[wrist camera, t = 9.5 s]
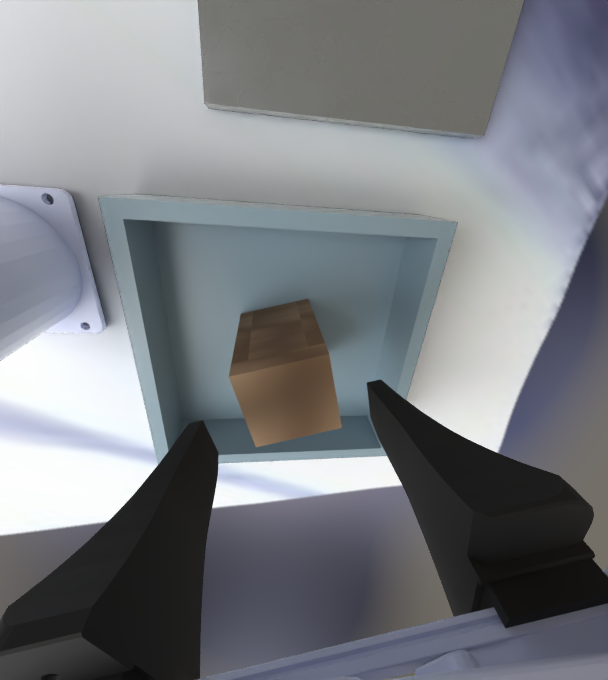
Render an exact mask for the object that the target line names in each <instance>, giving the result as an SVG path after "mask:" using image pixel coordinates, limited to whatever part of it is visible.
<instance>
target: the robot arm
mask: <svg viewBox="0 0 608 680" xmlns="http://www.w3.org/2000/svg"><path fill="white" fill-rule="evenodd" d="M47 194H50V195H51V196H52V198H53V199H54V202H53V204H51V203H50V202H49V201H48V200H47ZM84 322H86V323H88V324H89V325H90V327H87V326H85V324H84ZM105 328H106V323H105V319H104V315H103V311H102V308H101V304H100V300H99V296H98V292H97V288H96V285H95V281H94V277H93V273H92V269H91V265H90V262H89V258H88V254H87V250H86V246H85V242H84V238H83V235H82V231H81V227H80V223H79V219H78V215H77V212H76V208H75V204H74V200H73V198H72V196H71V195H70V194H69V193H68V192H67V191H65V190H63V189H59V188H45V187H32V186H18V185H4V184H0V361H1V360H2V359H4V358H5V357H7V356H8V355H10V354H11V353H13V352H14V351H16V350H17V349H19V348H21V347H22V346H24V345H25V344H27V343H28V342H30V341H31V340H33V339H34V338H36V337H37V336H39V335H40V334H42V333H100V332H102V331H103V330H104V329H105ZM367 391H368V400H369V409H370V418H371V420H372V423H373V426H374V428H375V431H376V434H377V436H378V439H379V441H380V443H381V445H382V447H383V449H384V450H385V452H386V454H387V456H388V458H389V460H390V462H391V464H392V466H393V468H394V470H395V472H396V474H397V475H398V477H399V479H400V481H401V483H402V485H403V487H404V489H405V491H406V494H407V496H408V498H409V500H410V503H411V505H412V508H413V510H414V513H415V515H416V518H417V520H418V523H419V525H420V528H421V530H422V533H423V535H424V538H425V540H426V543H427V545H428V548H429V551H430V553H431V556H432V559H433V561H434V564H435V567H436V569H437V572H438V574H439V577H440V580H441V583H442V585H443V588H444V591H445V594H446V596H447V599H448V602H449V605H450V607H451V610H452V612H453V616H454V617H451V618H448V619H443V620H439V621H435V622H431V623H426V624H422V625H418V626H414V627H410V628H406V629H402V630H398V631H394V632H390V633H386V634H382V635H378V636H374V637H369V638H365V639H361V640H357V641H353V642H349V643H345V644H340V645H336V646H332V647H329V648H324V649H320V650H316V651H312V652H307V653H304V654H299V655H295V656H291V657H287V658H283V659H279V660H275V661H271V662H266V663H262V664H258V665H254V666H250V667H246V668H242V669H238V670H234V671H230V672H225V673H221V674H217V675H213V676H209V677H205V678H201V679H200V632H201V607H202V588H203V573H204V561H205V548H206V539H207V533H208V526H209V520H210V516H211V510H212V505H213V499H214V494H215V488H216V482H217V476H218V456H219V452H218V450H217V448H216V446H215V444H214V442H213V440H212V438H211V436H210V434H209V432H208V430H207V428H206V426H205V424H204V421H203V420H202V421H197V422H193V423H189V424H188V425H187V427H186V428H185V429H184V431H183V432H182V433H181V435H180V436H179V437H178V439H177V440H176V442H175V443H174V444H173V446H172V447H171V449H170V450H169V451H168V453H167V454H166V455H165V457H164V458H163V459H162V461H161V462H160V463H159V465H158V466H157V467H156V468H155V470H154V471H153V472H152V473H151V475H150V476H149V477H148V478H147V479H146V481H145V482H144V483H143V484H142V486H141V487H140V488H139V489H138V490H137V492H136V493H135V494H134V495H133V496H132V497H131V498H130V499H129V501H128V502H127V503H126V504H125V505H124V506H123V507H122V508H121V509H120V510H119V511H118V512H117V513H116V514H115V515H114V516H113V517H112V518H111V519H110V520H109V521H108V522H107V523H106V524H105V525H104V526H103V527H102V528H101V529H100V530H99V531H98V532H97V533H96V534H95V535H94V536H93V537H92V538H91V539H90V540H89V541H88V542H87V543H86V544H84V545H83V546H82V547H81V548H80V549H79V550H78V551H76V552H75V553H74V554H73V555H72V556H71V557H70V558H68V559H67V560H66V561H65V562H64V563H63V564H61V565H60V566H59V567H58V568H57V569H56V570H54V571H53V572H52V573H51V574H50V575H48V576H47V577H46V578H44V579H43V580H42V581H41V582H40V583H38V584H37V585H36V586H34V587H33V588H32V589H30V590H29V591H28V592H27V593H25V594H24V595H23V596H21V598H19V599H18V600H16V601H15V602H14V603H12V604H11V605H10V606H8V608H7V609H6V611H5V613H4V615H3V616H2V618H1V619H0V680H384V679H388V678H392V677H396V676H400V675H404V674H408V673H412V672H415V676H411V677H403V678H395V679H388V680H608V568H606V569H605V570H604V571H602V570H601V569H600V567H599V566H598V565H597V564H596V563H595V562H594V560H593V559H592V558H594V557H595V555H594V552H593V551H592V550H591V549H590V548H589V546H588V545H586V543H585V542H584V541H583V539H584V537H585V535H586V533H587V531H588V530H589V528H590V526H591V524H592V521H593V517H594V512H593V508H592V506H591V505H589V503H587V502H586V501H585V500H584V499H583V498H582V497H581V496H580V495H579V493H577V491H576V490H575V489H574V488H572V487H571V486H570V485H569V484H568V483H567V482H566V481H565V480H563V479H562V478H561V477H560V476H559V475H556V474H553V473H550V472H547V471H544V470H541V469H538V468H535V467H532V466H529V465H527V464H523V463H521V462H518V461H516V460H513V459H511V458H508V457H506V456H503V455H501V454H498V453H496V452H494V451H491V450H489V449H487V448H485V447H483V446H481V445H478V444H476V443H474V442H472V441H470V440H468V439H466V438H464V437H462V436H460V435H458V434H457V433H455V432H453V431H451V430H449V429H448V428H446V427H444V426H443V425H441V424H439V423H438V422H436V421H435V420H433V419H432V418H430V417H429V416H427V415H426V414H424V413H423V412H421V411H420V410H419V409H417V408H416V407H415V406H413V405H412V404H411V403H409V402H408V401H407V400H405V399H404V398H403V397H401V396H400V395H399V394H398V393H396V392H395V391H394V390H393V389H392V388H391V387H389V386H388V385H387V384H386V383H385V382H384V381H382V380H381V379H380V380H376V381H371V382H367Z"/></svg>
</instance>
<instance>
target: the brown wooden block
mask: <svg viewBox="0 0 608 680" xmlns="http://www.w3.org/2000/svg"><path fill="white" fill-rule="evenodd" d="M229 379H230V382H231V384H232V387H233V390H234V392H235V395H236V397H237V400H238V402H239V405H240V408H241V410H242V413H243V415H244V418H245V420H246V423H247V426H248V428H249V431H250V433H251V436H252V438H253V441H254V444H255V446H256V447H260V446H264V445H269V444H273V443H277V442H282V441H286V440H291V439H295V438H299V437H304V436H308V435H312V434H317V433H321V432H325V431H330V430H334V429H339V428H342V425H341V419H340V413H339V407H338V402H337V396H336V390H335V384H334V379H333V373H332V367H331V362H330V356H329V352H328V350H327V347H326V344H325V342H324V339H323V336H322V334H321V331H320V328H319V326H318V323H317V320H316V318H315V315H314V312H313V310H312V307H311V305H310V302H309V299H304V300H300V301H295V302H291V303H286V304H282V305H277V306H273V307H268V308H264V309H259V310H255V311H250V312H246V313H241V315H240V320H239V325H238V330H237V336H236V341H235V346H234V351H233V357H232V362H231V367H230V372H229Z"/></svg>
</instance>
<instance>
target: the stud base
mask: <svg viewBox="0 0 608 680" xmlns="http://www.w3.org/2000/svg"><path fill="white" fill-rule="evenodd" d="M523 2H524V0H198V10H199V25H200V41H201V56H202V71H203V86H204V101H205V104H206V106H207V107H208V108H210V109H218V110H227V111H236V112H245V113H254V114H262V115H271V116H280V117H289V118H297V119H306V120H315V121H324V122H332V123H341V124H350V125H359V126H367V127H376V128H385V129H394V130H402V131H411V132H420V133H429V134H437V135H446V136H455V137H464V138H477V137H481V136H484V135H485V131H486V128H487V124H488V121H489V118H490V114H491V111H492V107H493V104H494V101H495V97H496V94H497V90H498V87H499V84H500V80H501V77H502V73H503V70H504V67H505V63H506V60H507V56H508V53H509V50H510V46H511V43H512V39H513V36H514V33H515V29H516V26H517V22H518V19H519V16H520V12H521V9H522V5H523Z"/></svg>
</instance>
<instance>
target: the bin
mask: <svg viewBox="0 0 608 680" xmlns="http://www.w3.org/2000/svg"><path fill="white" fill-rule="evenodd" d="M98 199H99V204H100V208H101V213H102V217H103V222H104V226H105V230H106V235H107V239H108V244H109V248H110V253H111V257H112V262H113V266H114V270H115V275H116V279H117V284H118V288H119V293H120V297H121V302H122V306H123V310H124V315H125V319H126V324H127V328H128V333H129V337H130V342H131V346H132V350H133V355H134V359H135V364H136V368H137V373H138V377H139V382H140V386H141V390H142V395H143V399H144V404H145V408H146V413H147V417H148V422H149V426H150V430H151V435H152V439H153V444H154V448H155V453H156V457H157V462H158V465H159V463H160V462H161V461H162V459H163V458H164V457H165V455H166V454H167V453H168V451H169V450H170V449H171V447H172V446H173V444H174V443H175V442H176V440H177V439H178V437H179V436H180V435H181V433H182V432H183V431H184V429H185V428H186V427H187V425H188V424H189V423H193V422H197V421H202V420H203V421H204V424H205V426H206V428H207V430H208V432H209V434H210V436H211V438H212V440H213V442H214V444H215V446H216V448H217V450H218V452H219V456H218V463H239V462H261V461H283V460H305V459H328V458H350V457H372V456H387V454H386V452H385V450H384V449H383V447H382V445H381V443H380V441H379V439H378V436H377V434H376V431H375V428H374V426H373V423H372V420H371V418H370V409H369V400H368V391H367V382H371V381H376V380H380V379H381V380H382V381H384V382H385V383H386V384H387V385H388V386H389V387H391V388H392V389H393V390H394V391H395V392H396V393H398V394H399V395H400V396H401V397H403V398H404V399H405V400H406V398H407V394H408V391H409V387H410V384H411V381H412V377H413V374H414V370H415V367H416V364H417V360H418V357H419V353H420V350H421V346H422V343H423V340H424V336H425V333H426V329H427V326H428V323H429V319H430V316H431V312H432V309H433V305H434V302H435V299H436V295H437V292H438V288H439V285H440V282H441V278H442V275H443V271H444V268H445V264H446V261H447V258H448V254H449V251H450V247H451V244H452V241H453V237H454V234H455V230H456V227H457V223H458V222H455V221H449V220H444V219H439V218H434V217H429V216H424V215H416V214H403V213H389V212H376V211H362V210H348V209H335V208H321V207H308V206H294V205H280V204H267V203H253V202H240V201H226V200H212V199H199V198H185V197H171V196H158V195H144V194H127V195H112V196H98ZM304 299H309V302H310V305H311V307H312V310H313V312H314V315H315V318H316V320H317V323H318V326H319V328H320V331H321V334H322V336H323V339H324V342H325V344H326V347H327V350H328V352H329V356H330V362H331V367H332V373H333V379H334V384H335V390H336V396H337V402H338V407H339V413H340V419H341V425H342V428H339V429H334V430H330V431H325V432H321V433H317V434H312V435H308V436H304V437H299V438H295V439H291V440H286V441H282V442H277V443H273V444H269V445H264V446H260V447H256V446H255V444H254V441H253V438H252V436H251V433H250V431H249V428H248V426H247V423H246V420H245V418H244V415H243V413H242V410H241V408H240V405H239V402H238V400H237V397H236V395H235V392H234V390H233V387H232V384H231V382H230V379H229V372H230V367H231V362H232V357H233V351H234V346H235V341H236V336H237V330H238V325H239V320H240V315H241V313H246V312H250V311H255V310H259V309H264V308H268V307H273V306H277V305H282V304H286V303H291V302H295V301H300V300H304Z"/></svg>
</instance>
